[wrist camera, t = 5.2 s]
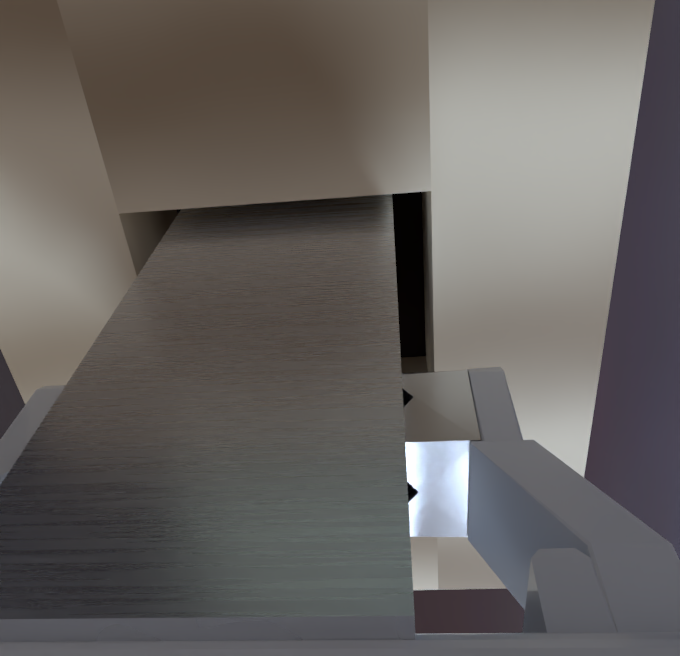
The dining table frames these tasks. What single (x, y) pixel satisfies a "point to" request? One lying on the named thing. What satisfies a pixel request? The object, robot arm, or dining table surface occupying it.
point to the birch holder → (333, 171)
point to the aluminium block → (226, 445)
